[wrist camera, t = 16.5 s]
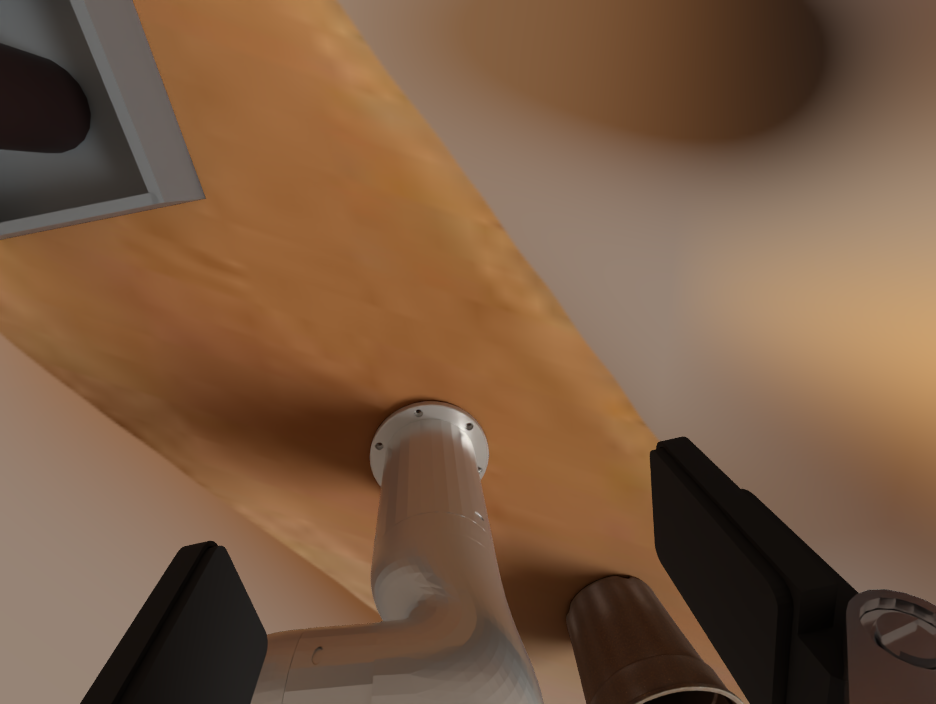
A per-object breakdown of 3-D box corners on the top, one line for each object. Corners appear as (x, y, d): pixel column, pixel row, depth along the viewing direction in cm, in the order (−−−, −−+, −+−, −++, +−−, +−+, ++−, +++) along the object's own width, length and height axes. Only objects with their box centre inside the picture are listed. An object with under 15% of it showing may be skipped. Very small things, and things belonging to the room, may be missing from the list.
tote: (205, 198, 40) (164, 202, 34) (-1, 239, 40) (-83, 251, 33) (112, -53, 34) (40, -108, 28) (-134, -7, 34) (-267, -52, 27)
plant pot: (624, 538, 58) (696, 664, 43) (694, 603, 63) (780, 736, 48) (525, 614, 61) (561, 757, 46) (600, 670, 66) (654, 816, 51)
